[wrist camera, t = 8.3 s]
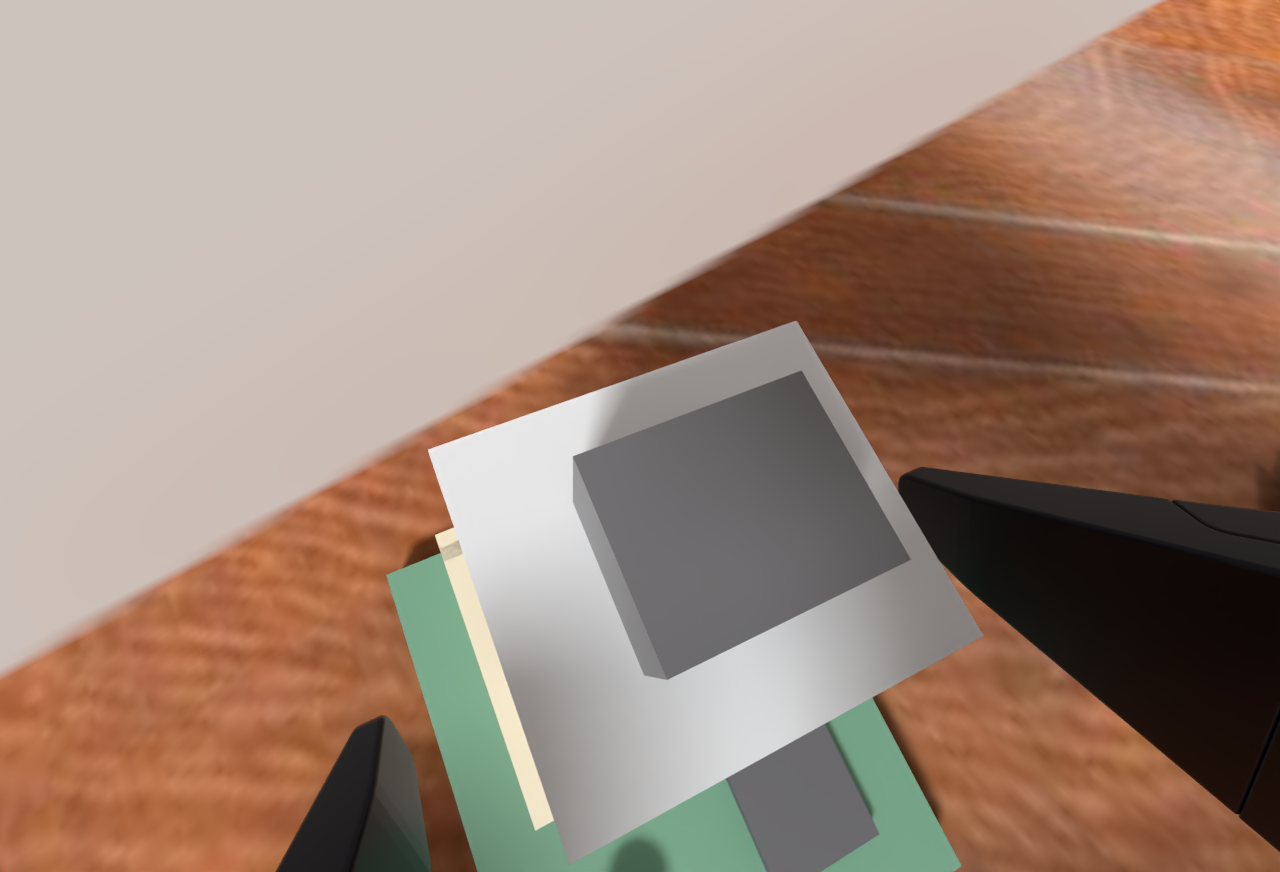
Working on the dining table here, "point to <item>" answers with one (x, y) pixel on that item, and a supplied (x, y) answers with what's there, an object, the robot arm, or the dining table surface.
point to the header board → (686, 834)
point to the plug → (691, 576)
